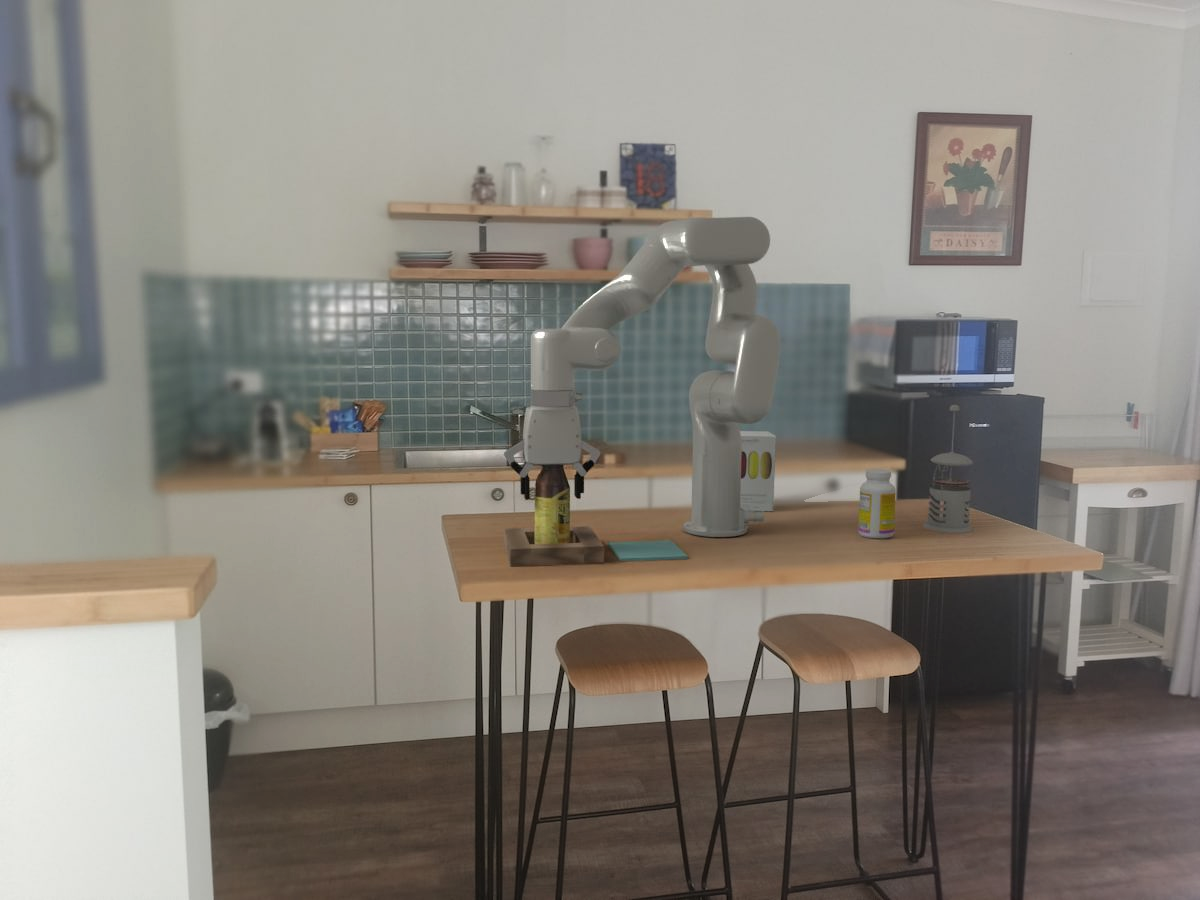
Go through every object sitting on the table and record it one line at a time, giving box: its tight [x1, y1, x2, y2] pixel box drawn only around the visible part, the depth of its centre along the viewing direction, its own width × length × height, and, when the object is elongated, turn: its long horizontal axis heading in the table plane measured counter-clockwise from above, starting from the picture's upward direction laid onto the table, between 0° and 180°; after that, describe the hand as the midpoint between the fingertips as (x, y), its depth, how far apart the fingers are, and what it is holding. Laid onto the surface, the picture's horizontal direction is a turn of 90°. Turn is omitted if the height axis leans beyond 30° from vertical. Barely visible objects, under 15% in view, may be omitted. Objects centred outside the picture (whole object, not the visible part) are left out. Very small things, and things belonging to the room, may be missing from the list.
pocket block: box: [503, 525, 605, 567], centre depth 174 cm, size 16×16×3 cm
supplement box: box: [740, 430, 777, 513], centre depth 216 cm, size 10×9×17 cm
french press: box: [921, 404, 974, 534], centre depth 198 cm, size 10×12×25 cm
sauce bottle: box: [534, 465, 571, 544], centre depth 173 cm, size 6×6×20 cm
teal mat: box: [607, 540, 689, 562], centre depth 176 cm, size 12×12×1 cm
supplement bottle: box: [858, 468, 897, 540], centre depth 190 cm, size 7×7×13 cm
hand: (552, 497), depth 173 cm, fingers open, 8 cm apart
